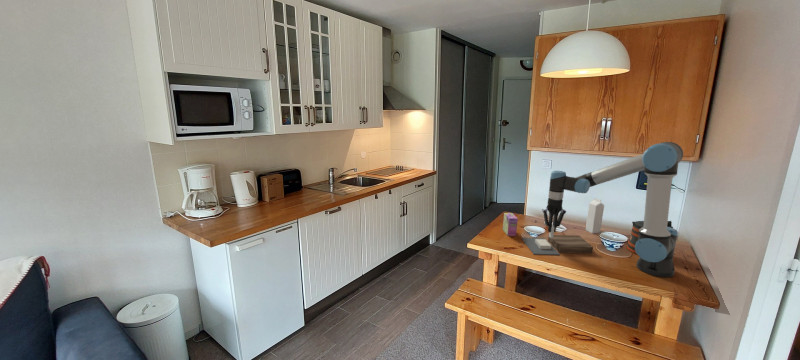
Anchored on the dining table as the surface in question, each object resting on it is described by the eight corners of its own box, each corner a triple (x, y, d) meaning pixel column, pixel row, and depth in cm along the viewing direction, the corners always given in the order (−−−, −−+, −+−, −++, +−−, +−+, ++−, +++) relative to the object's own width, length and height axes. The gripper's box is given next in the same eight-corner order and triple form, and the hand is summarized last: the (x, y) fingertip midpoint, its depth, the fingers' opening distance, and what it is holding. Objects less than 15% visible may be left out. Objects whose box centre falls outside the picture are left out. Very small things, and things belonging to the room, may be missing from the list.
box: (516, 235, 206) (517, 218, 203) (507, 235, 206) (508, 218, 203) (511, 229, 216) (512, 212, 213) (502, 229, 216) (503, 212, 214)
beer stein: (663, 249, 187) (670, 216, 182) (671, 260, 174) (679, 225, 169) (624, 243, 195) (629, 212, 190) (629, 254, 182) (635, 220, 177)
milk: (592, 233, 210) (596, 200, 205) (585, 230, 216) (589, 198, 210) (600, 232, 211) (605, 200, 206) (593, 229, 217) (597, 197, 211)
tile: (540, 245, 186) (540, 248, 187) (551, 245, 186) (550, 249, 186) (535, 239, 195) (534, 242, 195) (545, 239, 194) (545, 242, 195)
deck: (592, 253, 182) (593, 246, 181) (559, 252, 183) (559, 246, 182) (578, 241, 198) (579, 235, 197) (548, 240, 198) (548, 234, 198)
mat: (559, 255, 180) (559, 254, 180) (533, 254, 181) (533, 253, 181) (544, 238, 201) (544, 238, 201) (521, 238, 202) (521, 237, 202)
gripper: (564, 196, 187) (559, 234, 193) (541, 196, 188) (537, 234, 193) (570, 200, 180) (565, 240, 185) (546, 199, 181) (541, 239, 186)
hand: (551, 237), depth 189 cm, fingers closed
